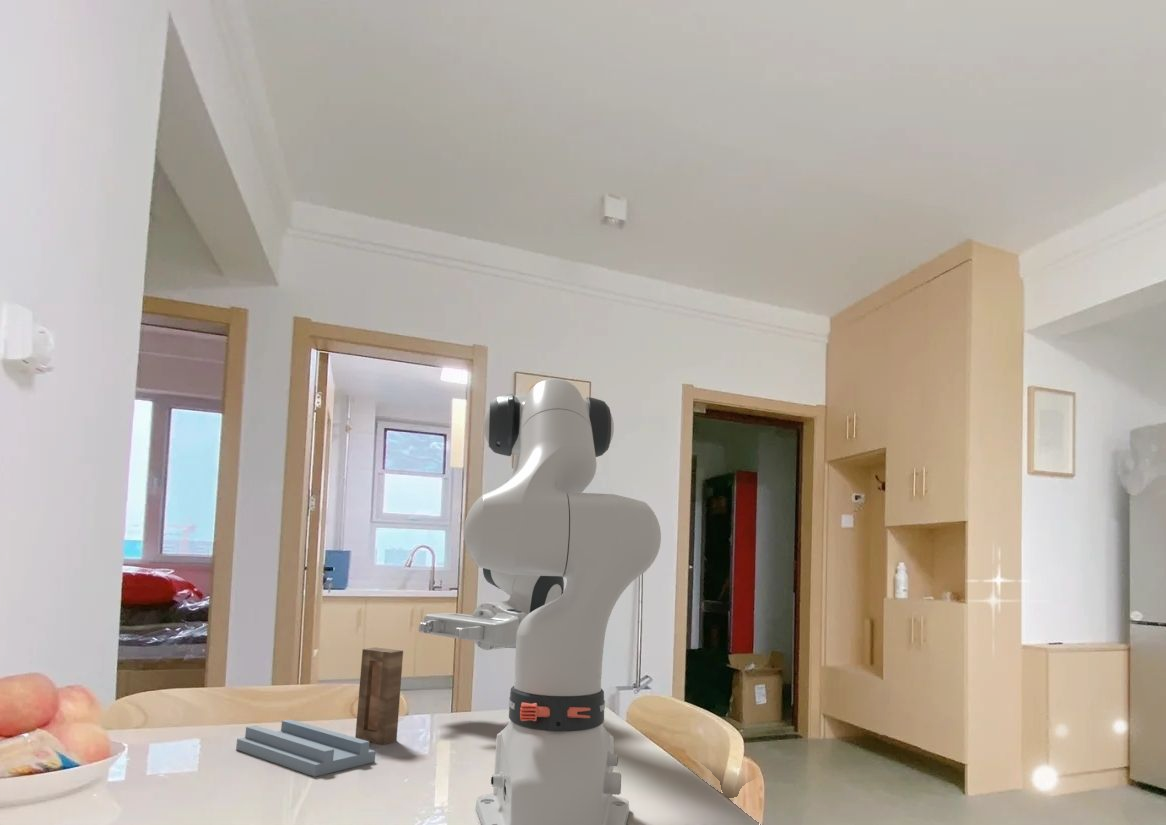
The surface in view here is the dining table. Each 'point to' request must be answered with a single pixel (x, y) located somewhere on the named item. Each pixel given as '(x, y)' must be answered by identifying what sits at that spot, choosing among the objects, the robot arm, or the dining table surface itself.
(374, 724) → the frame
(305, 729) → the picture stand
